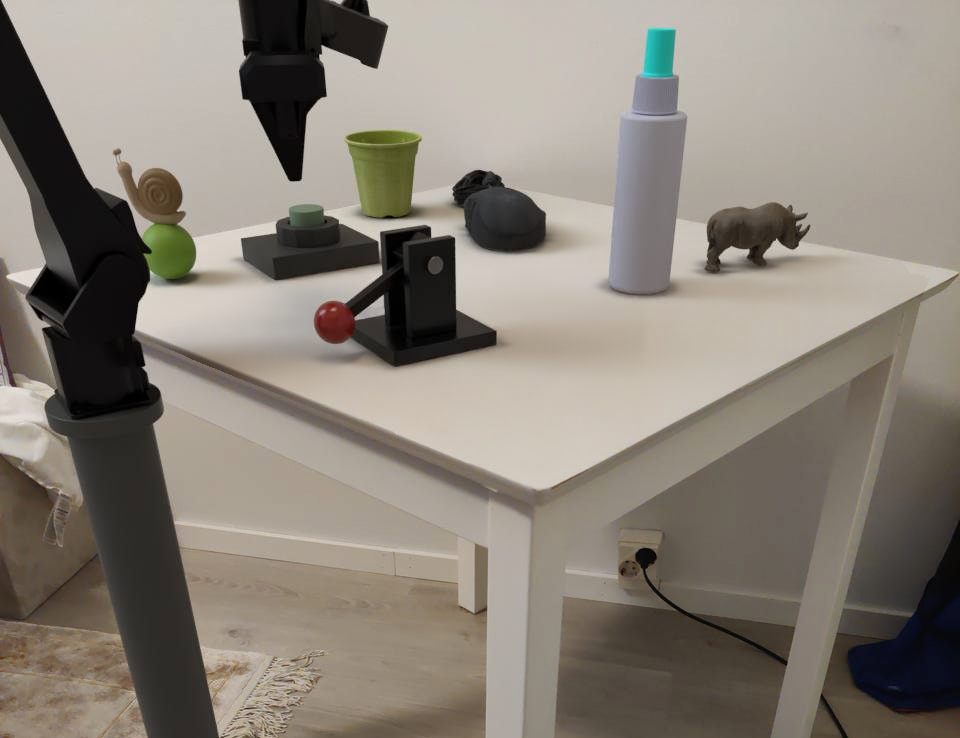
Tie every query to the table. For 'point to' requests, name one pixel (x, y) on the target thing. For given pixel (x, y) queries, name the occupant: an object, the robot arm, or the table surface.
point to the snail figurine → (160, 220)
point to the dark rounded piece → (499, 213)
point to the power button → (306, 215)
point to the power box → (309, 249)
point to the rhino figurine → (752, 231)
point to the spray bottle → (648, 174)
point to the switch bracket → (421, 304)
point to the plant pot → (384, 170)
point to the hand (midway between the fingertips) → (295, 180)
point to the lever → (357, 302)
